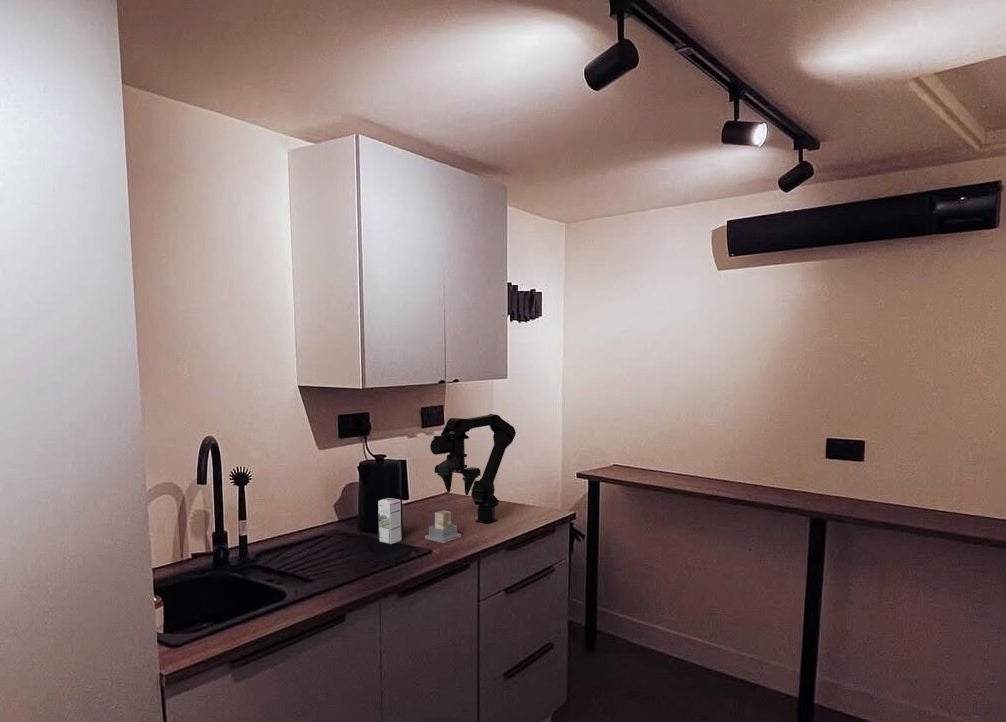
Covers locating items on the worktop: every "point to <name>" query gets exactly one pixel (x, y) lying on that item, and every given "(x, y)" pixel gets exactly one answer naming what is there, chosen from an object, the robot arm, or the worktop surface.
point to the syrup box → (389, 520)
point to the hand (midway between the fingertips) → (457, 493)
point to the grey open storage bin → (443, 534)
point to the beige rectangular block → (442, 519)
